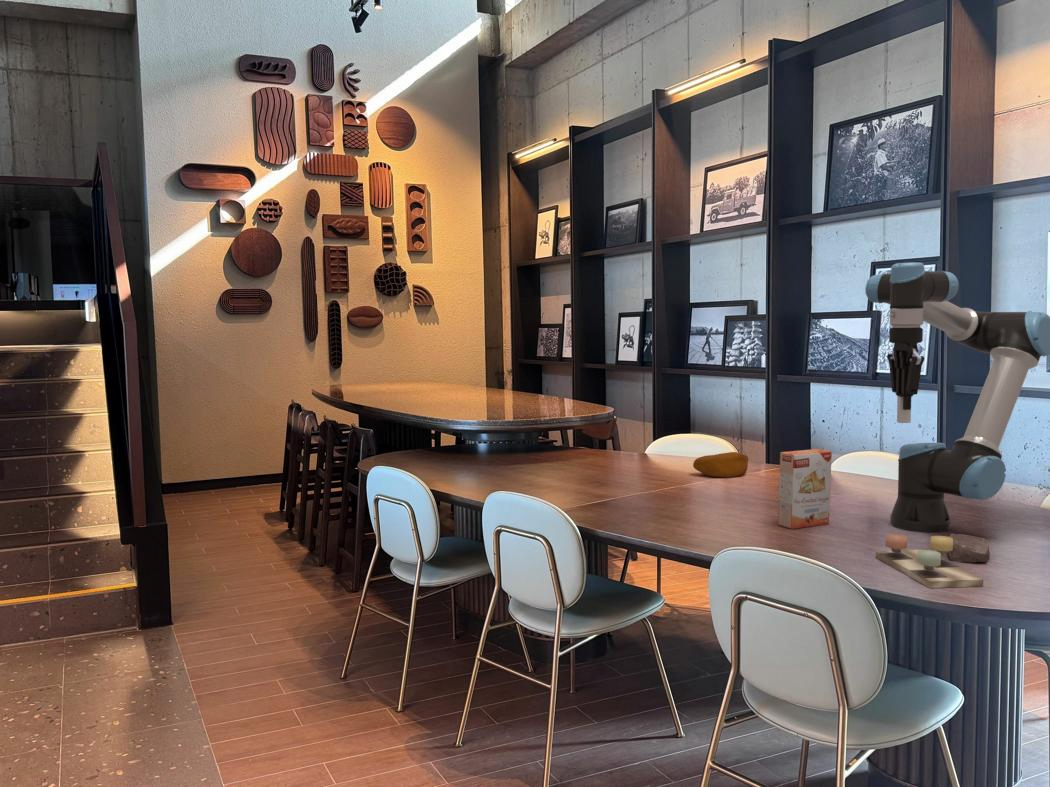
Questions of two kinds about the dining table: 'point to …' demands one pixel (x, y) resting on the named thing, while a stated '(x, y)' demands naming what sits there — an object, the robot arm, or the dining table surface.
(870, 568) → the dining table surface
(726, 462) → the bread
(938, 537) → the ochre button
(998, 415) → the robot arm
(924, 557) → the sage button
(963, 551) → the stone
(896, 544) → the terracotta button
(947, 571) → the board
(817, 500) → the cracker box
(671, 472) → the dining table surface
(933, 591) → the dining table surface
